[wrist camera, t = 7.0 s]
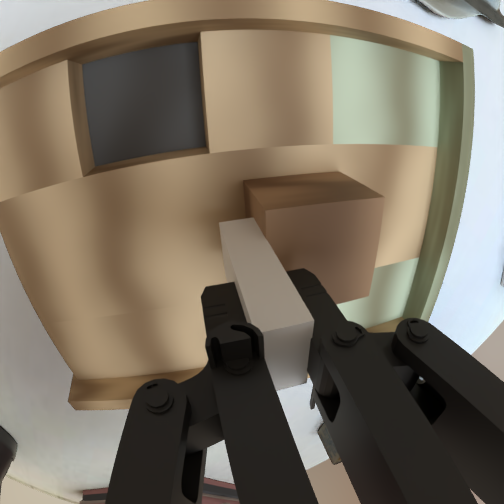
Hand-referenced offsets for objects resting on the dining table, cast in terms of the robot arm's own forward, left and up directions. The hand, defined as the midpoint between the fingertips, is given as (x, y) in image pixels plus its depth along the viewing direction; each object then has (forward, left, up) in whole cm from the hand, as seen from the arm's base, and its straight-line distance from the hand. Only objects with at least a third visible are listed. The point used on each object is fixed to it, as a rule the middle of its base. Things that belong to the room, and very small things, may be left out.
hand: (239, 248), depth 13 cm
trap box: (+1, 0, -4) cm, 5 cm away
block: (+3, 0, -2) cm, 4 cm away
